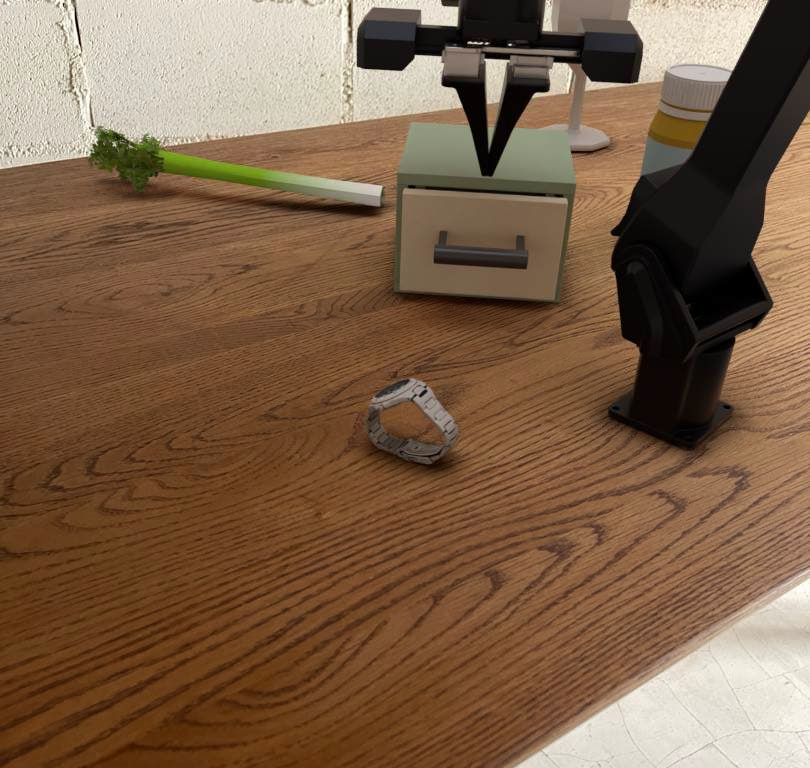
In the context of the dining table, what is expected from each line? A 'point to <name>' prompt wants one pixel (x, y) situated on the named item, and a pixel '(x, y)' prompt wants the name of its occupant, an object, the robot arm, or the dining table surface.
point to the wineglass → (566, 13)
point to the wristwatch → (430, 408)
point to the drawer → (481, 242)
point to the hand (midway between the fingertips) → (487, 175)
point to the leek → (215, 170)
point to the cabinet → (458, 168)
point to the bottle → (682, 113)
